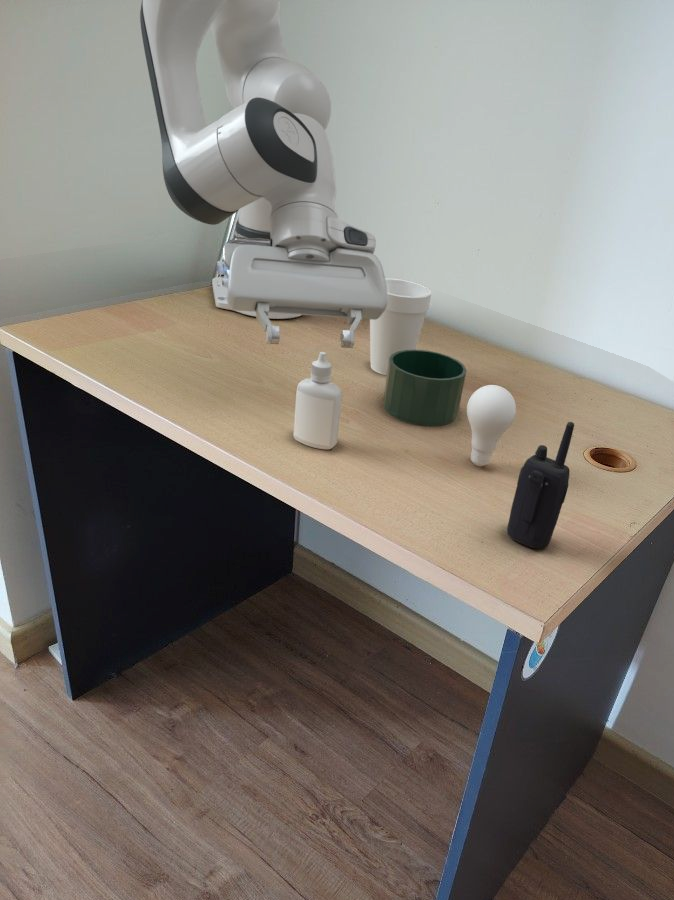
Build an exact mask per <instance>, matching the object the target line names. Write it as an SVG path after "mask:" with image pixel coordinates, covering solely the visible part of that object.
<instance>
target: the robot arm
mask: <svg viewBox="0 0 674 900" xmlns="http://www.w3.org/2000/svg"><path fill="white" fill-rule="evenodd" d="M280 11H281V0H141V5H140V11H139V20H140V21H139V23H140V31H141V32H140V33H141V37H142V44H143V49H144V55H145V60H146V66H147V72H148V77H149V82H150V87H151V93H152V97H153V102H154V107H155V113H156V118H157V123H158V128H159V134H160V140H161V155H162V157H161V159H162V175H163V180H164V184H165V185H164V186H165V188H166V191H167V194H168V196H169V197H170V199H171V201H172V202H173V203H174V205H175V206H176V207H177V208H178V209H179V210H180V211H181V212H182V213H184V214H185V215H186V216H188V217H190V218H192V219H193V220H195V221H197V222H200V223H203V224H207V225H212V226H215V225H219V224H221V223H222V222H224V221H225V220H227V219H228V218H230V217H231V216H233V215H235V214H236V213H237V212H238V220H237V221H236V222H235V227H234V232H233V234H234V236H233V239H229V240H228V241H227V242H225V243H224V245H223V248H222V258H223V259H222V260H217V261H216V274H217V275H220V276H216V277H213V278H212V280H211V287H212V292H213V297H214V303H215V307H217V308H219V309H223V310H224V309H225V310H228V311H233V312H237V313H240V314H243V315H247V316H250V317H255V318H256V321H257V322H258V323H259V325H260V327H261V328H262V329H263V332H265V341H266V344H267V345H279V344H280V339H281V334H280V325H273V323H272V322H271V319H273V320H276V319H277V320H279V319H280V320H281V319H282V320H285V319H294V318H299V317H301V316H315V317H328V318H329V317H330V318H345V319H346V320H347V325H349V326H350V327H349V330H348V329H342V331H341V333H340V334H339V342H340V344H339V345H340V348H342V349H353V348H354V347H355V342H356V341H355V332H356V330H357V328H358V326H359V324H360V323H361V321H362V320H370V319H373V320H376V319H378V318H379V317H380V316H381V315H382V314H383V312H384V311H385V309H386V306H387V303H388V296H387V287H386V281H385V279H386V275H385V272H384V268H383V264H382V263H381V260H380V259H379V258H378V256H376V255H375V251H376V250H375V249H376V245H377V241H376V237H375V236H374V234H372V233H370V232H368V231H366V230H363V229H360V228H358V227H356V226H353V225H351V224H348V223H347V222H344V221H343V220H341V219H339V215H338V213H337V212H338V211H337V210H336V207H335V201H336V197H337V180H336V170H335V162H334V156H333V152H332V148H331V145H330V141H329V138H328V135H327V132H326V130H327V128H328V125H329V123H330V120H331V116H332V115H331V114H332V102H331V96H330V94H329V92H328V89H327V87H326V85H325V84H324V83H323V82H322V81H321V79H320V78H319V77H318V76H317V75H316V74H315V73H314V72H313V71H312V70H311V69H309V68H308V67H306V66H305V65H304V64H301V63H298V62H295V61H291V60H290V58H289V56H288V54H287V52H286V48H285V43H284V38H283V33H282V26H281V20H280ZM209 29H210V31H211V34H212V37H213V40H214V45H215V49H216V52H217V57H218V60H219V61H218V62H219V64H220V68H221V72H222V75H223V79H224V82H225V93H226V97H227V100H228V102H229V104H230V106H231V108H232V110H230V111H228V112H226V113H225V114H223V115H222V116H221V117H220V118H219V119H217V120H215V121H213V122H212V123H210V124H209V125H207V126H206V121H205V115H204V110H203V103H202V99H201V98H202V97H201V93H200V88H199V81H198V76H197V61H198V60H197V59H198V54H199V51H200V48H201V45H202V42H203V40H204V38H205V36H206V34H207V32H208V30H209Z"/></svg>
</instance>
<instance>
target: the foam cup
mask: <svg viewBox="0 0 674 900" xmlns="http://www.w3.org/2000/svg"><path fill="white" fill-rule="evenodd" d="M385 281H386V287H387V296H388V303H387V306H386V309H385V311H384V312H383V314H382V315H381V316H380V317H379V318H378V319H376V320H373V319H369V354H370V355H369V357H370V358H369V360H370V361H369V363H370V369H371V370H372V372H373V371H374V372H375V373H377V374H379V375H383V376H387V370H388V363H389V358H390V356H391V355H392V354H394V353H395V352H398V351H403V350H417V346H418V342H419V339H420V336H421V332H422V329H423V326H424V323H425V319H426V315H427V312H428V311H429V309H430V305H431V304H430V303H431V297H432V290H431V289H429V288H428V287H427V286H426V285H423V284H420V283H417V282H415V281H410V280H406V279H400V278H391V277H389V278H387V277H385Z"/></svg>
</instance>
